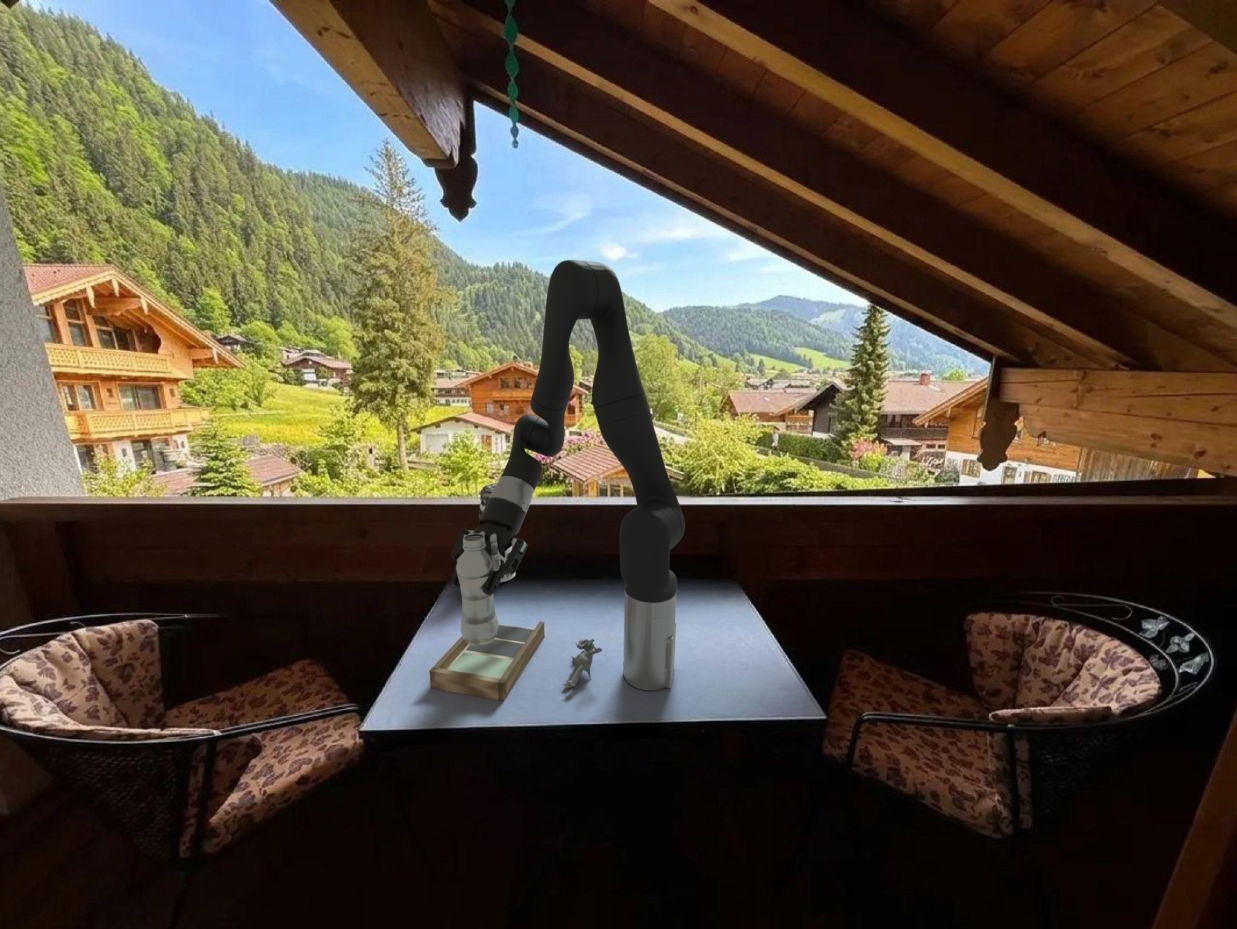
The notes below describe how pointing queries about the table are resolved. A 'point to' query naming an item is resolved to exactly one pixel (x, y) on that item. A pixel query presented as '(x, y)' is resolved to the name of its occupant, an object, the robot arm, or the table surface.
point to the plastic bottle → (476, 592)
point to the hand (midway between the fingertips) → (470, 589)
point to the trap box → (487, 663)
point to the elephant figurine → (582, 661)
